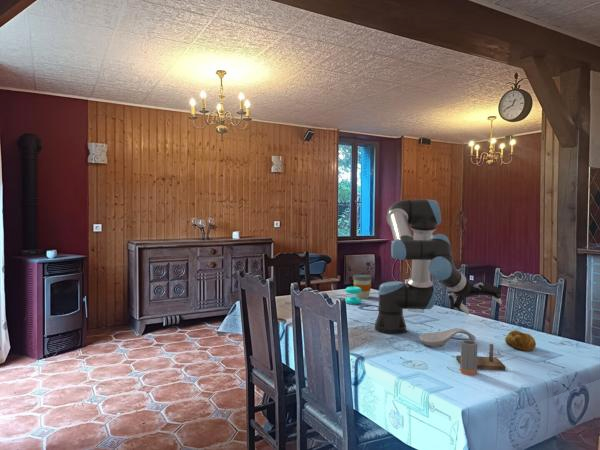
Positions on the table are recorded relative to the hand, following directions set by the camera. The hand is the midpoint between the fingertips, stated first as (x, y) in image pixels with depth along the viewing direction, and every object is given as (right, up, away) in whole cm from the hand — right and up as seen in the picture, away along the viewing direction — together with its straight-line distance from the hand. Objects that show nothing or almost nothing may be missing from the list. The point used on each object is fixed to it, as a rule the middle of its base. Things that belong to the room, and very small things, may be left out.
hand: (483, 306), depth 172 cm
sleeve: (-13, -20, -18) cm, 30 cm away
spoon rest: (-10, -20, +14) cm, 26 cm away
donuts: (-40, -17, +100) cm, 109 cm away
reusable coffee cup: (-32, -17, +119) cm, 124 cm away
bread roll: (+20, -20, +11) cm, 31 cm away
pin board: (-6, -20, -10) cm, 23 cm away
